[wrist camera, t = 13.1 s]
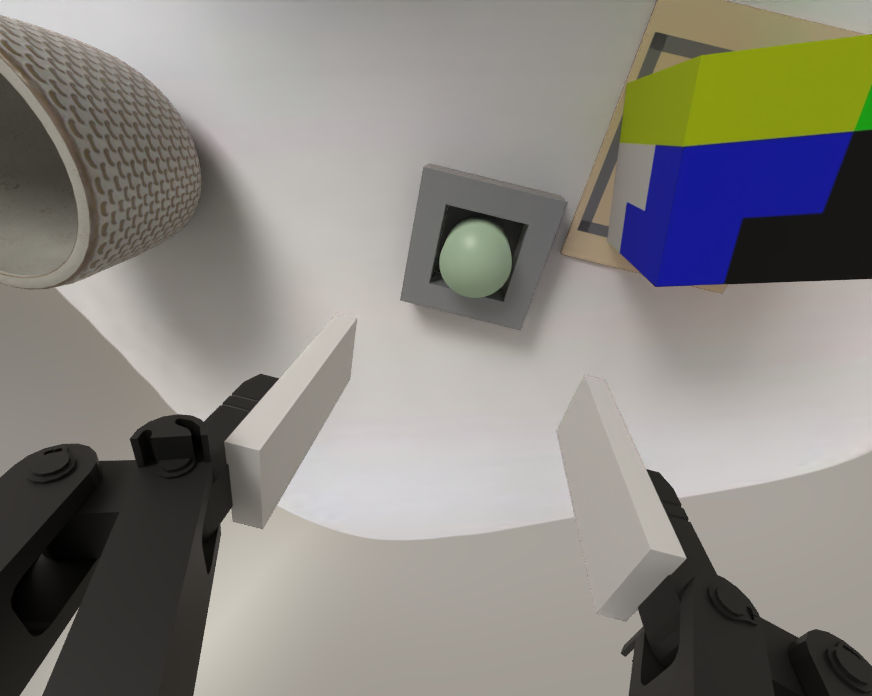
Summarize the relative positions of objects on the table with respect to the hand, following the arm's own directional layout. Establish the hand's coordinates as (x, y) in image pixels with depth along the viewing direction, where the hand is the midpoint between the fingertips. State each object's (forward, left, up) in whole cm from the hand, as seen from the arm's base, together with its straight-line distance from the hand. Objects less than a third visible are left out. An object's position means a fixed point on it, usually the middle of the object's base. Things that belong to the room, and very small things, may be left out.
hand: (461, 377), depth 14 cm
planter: (-1, -27, -20) cm, 33 cm away
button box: (0, 0, -19) cm, 19 cm away
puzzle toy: (-9, +13, -19) cm, 25 cm away
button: (0, 0, -18) cm, 18 cm away
